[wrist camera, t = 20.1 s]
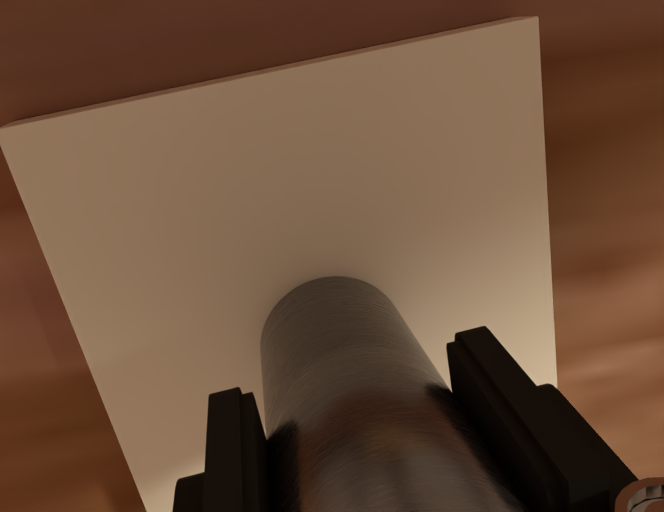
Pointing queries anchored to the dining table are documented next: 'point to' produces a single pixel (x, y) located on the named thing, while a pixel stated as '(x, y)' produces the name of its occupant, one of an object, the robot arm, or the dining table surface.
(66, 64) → the dining table surface
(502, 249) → the plate
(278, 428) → the grey brown cylinder
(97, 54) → the dining table surface
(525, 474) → the robot arm
